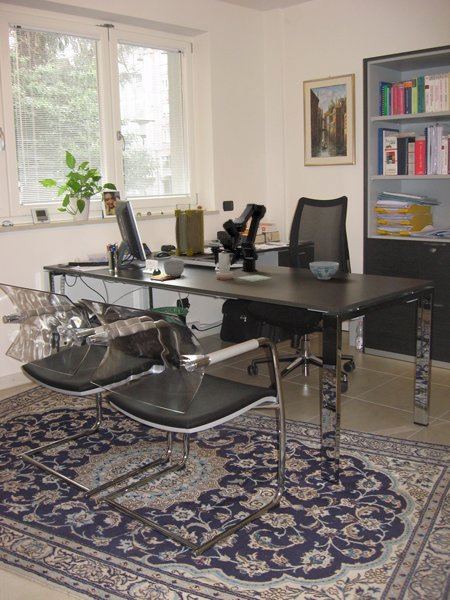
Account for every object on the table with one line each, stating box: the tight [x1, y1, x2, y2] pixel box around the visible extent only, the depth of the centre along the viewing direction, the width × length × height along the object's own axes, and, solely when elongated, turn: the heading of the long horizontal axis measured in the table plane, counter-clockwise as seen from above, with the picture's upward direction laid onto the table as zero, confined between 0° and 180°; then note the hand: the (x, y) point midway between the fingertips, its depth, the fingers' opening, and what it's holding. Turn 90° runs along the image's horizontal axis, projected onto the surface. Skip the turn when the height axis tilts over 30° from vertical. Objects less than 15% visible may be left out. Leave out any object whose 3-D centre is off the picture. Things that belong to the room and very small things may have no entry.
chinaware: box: [309, 261, 340, 280], centre depth 354 cm, size 15×15×8 cm
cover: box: [215, 251, 234, 275], centre depth 359 cm, size 9×9×12 cm
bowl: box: [215, 273, 234, 281], centre depth 360 cm, size 9×9×2 cm
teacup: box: [163, 259, 185, 277], centre depth 374 cm, size 14×11×8 cm
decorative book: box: [174, 208, 205, 257], centre depth 459 cm, size 20×11×30 cm, turn 145°
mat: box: [237, 274, 273, 283], centre depth 358 cm, size 13×13×1 cm
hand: (223, 264), depth 358 cm, fingers open, 9 cm apart
